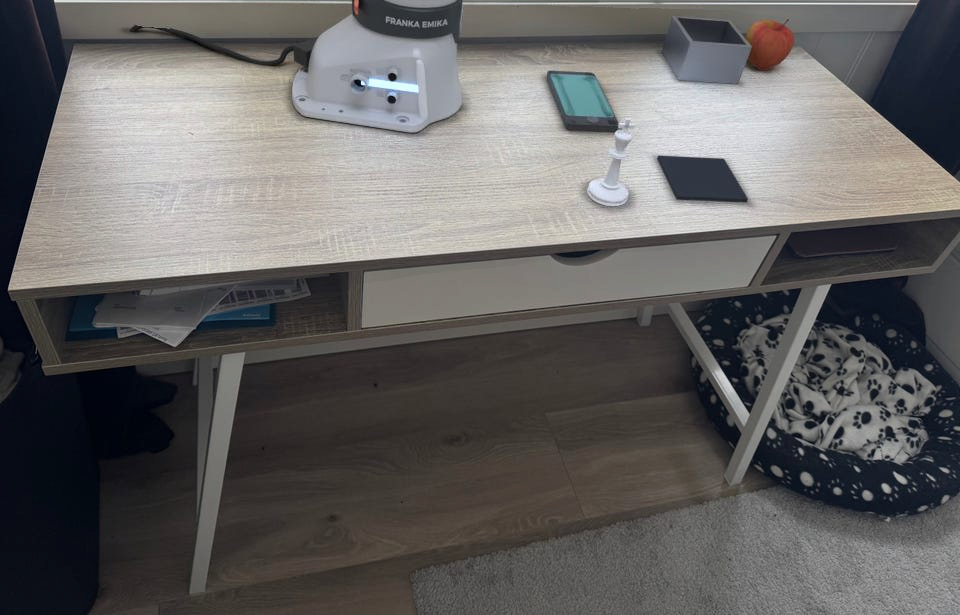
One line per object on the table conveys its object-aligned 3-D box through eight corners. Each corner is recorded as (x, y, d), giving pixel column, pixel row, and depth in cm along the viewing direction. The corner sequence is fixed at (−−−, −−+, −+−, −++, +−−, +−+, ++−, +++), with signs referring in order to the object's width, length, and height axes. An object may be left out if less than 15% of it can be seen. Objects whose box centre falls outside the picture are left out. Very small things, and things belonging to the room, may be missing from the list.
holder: (678, 80, 112) (690, 42, 108) (661, 52, 119) (672, 15, 115) (738, 84, 113) (752, 46, 109) (717, 56, 120) (730, 19, 116)
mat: (676, 199, 88) (677, 196, 88) (656, 158, 95) (657, 155, 94) (746, 202, 89) (748, 199, 89) (722, 161, 96) (724, 158, 95)
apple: (732, 53, 122) (749, 5, 116) (775, 59, 122) (794, 11, 117) (742, 73, 116) (761, 24, 111) (787, 79, 117) (808, 30, 111)
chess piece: (583, 181, 89) (601, 106, 82) (622, 183, 89) (644, 109, 82) (591, 205, 85) (611, 129, 78) (631, 207, 86) (655, 131, 79)
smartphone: (568, 122, 96) (546, 68, 107) (566, 130, 97) (545, 76, 108) (621, 124, 98) (595, 71, 108) (619, 132, 98) (593, 79, 109)
